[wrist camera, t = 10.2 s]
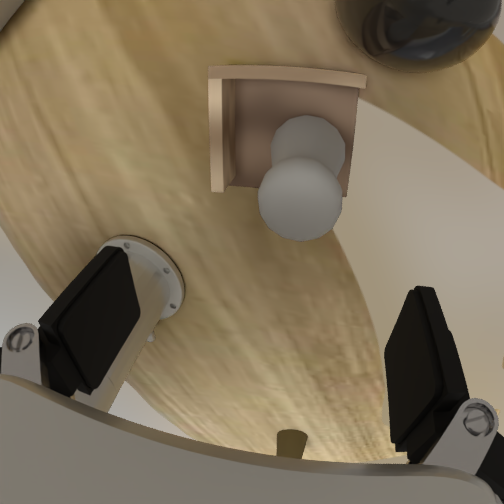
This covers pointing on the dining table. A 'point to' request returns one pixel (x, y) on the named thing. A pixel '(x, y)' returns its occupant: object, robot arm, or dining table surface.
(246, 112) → the corner tray
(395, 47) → the pump dispenser
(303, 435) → the brown pawn
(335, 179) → the salt shaker
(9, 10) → the white rounded block
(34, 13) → the dining table surface
